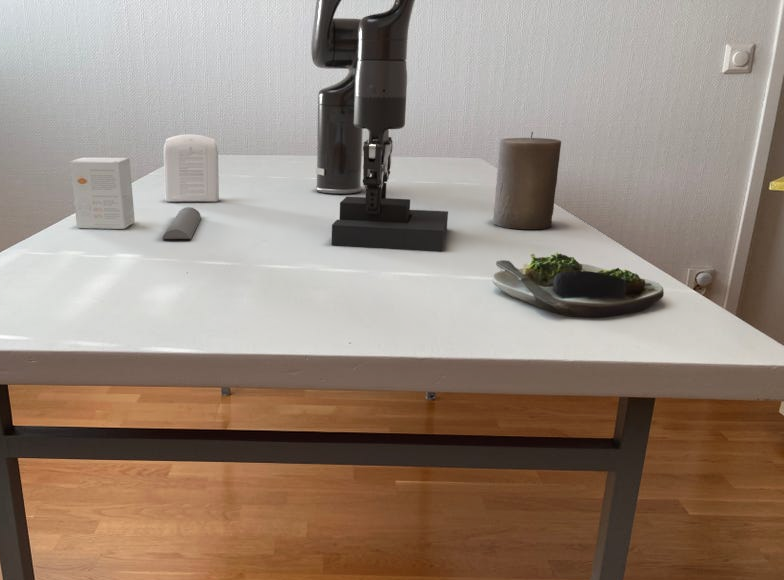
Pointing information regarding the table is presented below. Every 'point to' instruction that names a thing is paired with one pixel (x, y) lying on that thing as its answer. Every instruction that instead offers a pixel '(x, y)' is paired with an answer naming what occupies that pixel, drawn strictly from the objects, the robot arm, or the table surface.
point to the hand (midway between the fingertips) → (375, 209)
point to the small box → (102, 192)
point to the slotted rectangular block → (394, 232)
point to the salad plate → (576, 287)
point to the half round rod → (183, 224)
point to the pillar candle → (526, 182)
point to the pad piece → (389, 213)
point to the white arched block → (191, 169)
